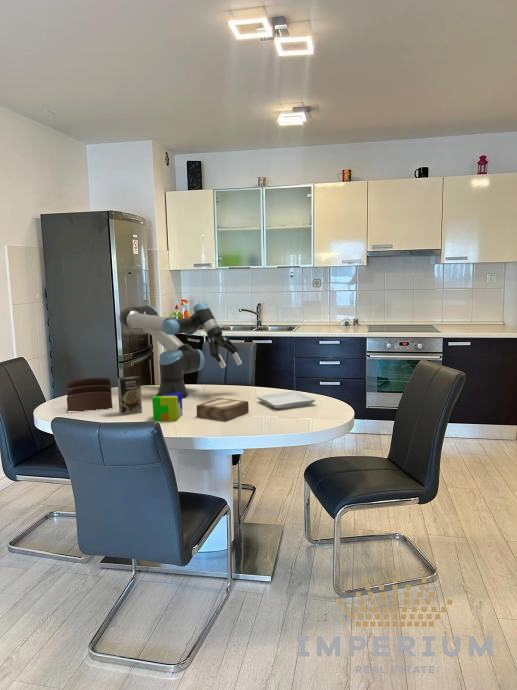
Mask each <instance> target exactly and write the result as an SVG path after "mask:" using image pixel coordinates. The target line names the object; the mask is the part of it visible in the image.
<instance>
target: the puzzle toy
mask: <svg viewBox="0 0 517 690" xmlns="http://www.w3.org/2000/svg"><path fill="white" fill-rule="evenodd" d="M151 399H152V417H153V422H177V421H179V419H180V418H182V416H184V414H183V398H182V393H158V392H157V394H156V395H154V396H152V397H151Z"/></svg>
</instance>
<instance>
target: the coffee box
mask: <svg viewBox="0 0 517 690" xmlns="http://www.w3.org/2000/svg"><path fill="white" fill-rule="evenodd" d="M141 383H142V382H141V377H140V376H137V375H133V376H123V377H117V389H118V390H117V392H118V393H117V395H118V412H119V414H120V415H122V416H128V415H134V414H135V413H136V414H141V413H143V404H142V385H141ZM136 414H135V415H136Z"/></svg>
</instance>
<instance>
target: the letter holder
mask: <svg viewBox="0 0 517 690" xmlns="http://www.w3.org/2000/svg"><path fill="white" fill-rule="evenodd" d="M111 382H112V381H111V378H109V377H85V378H79V379H73V380H69V381H67V383H66V387H67V391H66V396H67V397H66V407H67V412H68V411H82V412H85V411H84V410H93V411H97V410H96V409H103V410H110V409H109V408H112V409H113V396H112V384H111Z"/></svg>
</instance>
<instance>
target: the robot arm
mask: <svg viewBox="0 0 517 690" xmlns="http://www.w3.org/2000/svg"><path fill="white" fill-rule="evenodd" d="M192 309H193V314H192V315H191V316H189V317H184V318H171V317H164V316H160V315H159V311H158V310H157V309H156V308H155V307H154V306H150V305H143V306H142V305H141V306H140V305H139V306H127V307H125V308H123V309H122V310H121V311H120V313H119V316H118V319H119V323H120V324H121V325H122V326H123V327H125V328H128V329H136V328H138V329H139V328H140V330H142V331H143V332H144V333H147V334H150V335H151V336H152V337H153V338H154V339H155V340H156V341H157V342H158V343H159V344H160V345H161V346H162V347H163V348H164V349H165V350H166V351H163V352H161V353H160V354H159V357H158V358H159V361H158V365H159V377H160V378H159V379H160V383H159V387H158V391H157V394H158V393H182V399H185V398H186V397H189V396H188V394H189V393H188V390H187V388H186V384H185V382H184V375H185V374H189V373H196V372H198V371H201V370H202V369H203V367H204V365H205V356H204V353H203V351H202V350H201V349H198V348H195V349H194V348H193V347H192V346H191V345H190V344H188V343H183V342H182V341H181V340H180V339H179V338H178V337H177V336H176V335H179V334H184V335H186V336H188V337H189V336H193V335H194V334H195V333H196V332H197V331H199V330H200V328H203V330H204V332H205V333H206V336H207V338H208V339H207V343H208V346H209V354H210V356H211V357H212V358H213V359H216V362H217V363H218V364H219V366H220V369H224V368H226V367H227V364H226V363H225V360H224V359H223V357H222V355H221V354H220V347H222V348H224V349H226V350H227V351H228V352H230V353H231V356H232V358H233V360H234V361H235V363H236V365H237V366H238V367H239V366H240V365H242V364H243V362H242V360H241V358H240V356H239V353H238V352H239V349H238V347H236V345H235V344H233V342H232V341H231V340H230V339H229V338H228V336H227V335H225V336H223V331H222V329H221V327H220V325H219V323H218V322H217V320H216V318H215V316H214V314H213V312H212V311H211V308H210V307H209V306H208V304H207V303H206V302H205V301H200V302H198V303H196V304H195V305H194V306H193V307H192Z"/></svg>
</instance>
